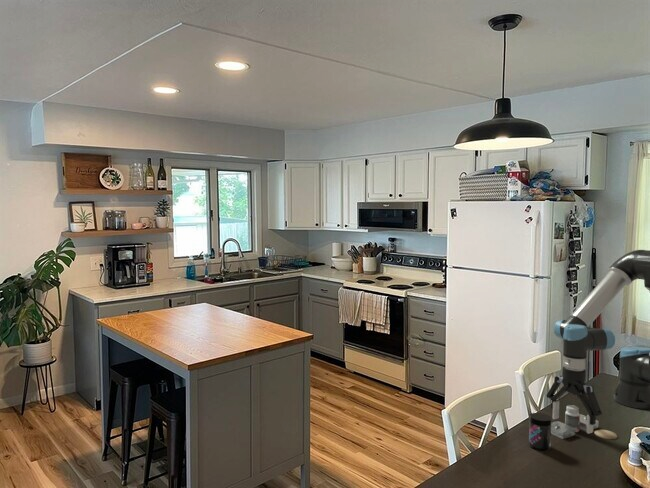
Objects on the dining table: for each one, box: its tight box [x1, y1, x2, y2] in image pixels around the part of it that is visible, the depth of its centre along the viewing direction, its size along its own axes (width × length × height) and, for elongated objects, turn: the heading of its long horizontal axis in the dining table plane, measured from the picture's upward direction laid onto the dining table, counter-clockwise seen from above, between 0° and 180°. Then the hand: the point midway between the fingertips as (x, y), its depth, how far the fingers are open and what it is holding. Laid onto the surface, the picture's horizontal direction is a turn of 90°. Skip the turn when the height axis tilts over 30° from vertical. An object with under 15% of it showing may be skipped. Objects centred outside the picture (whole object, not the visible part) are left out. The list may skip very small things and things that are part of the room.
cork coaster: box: [593, 429, 618, 440], centre depth 175 cm, size 7×7×1 cm
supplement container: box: [528, 412, 552, 452], centre depth 166 cm, size 7×7×10 cm
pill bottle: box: [564, 404, 580, 433], centre depth 180 cm, size 5×5×8 cm
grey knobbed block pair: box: [551, 413, 599, 440], centre depth 180 cm, size 20×7×3 cm, turn 118°
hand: (572, 425), depth 180 cm, fingers open, 13 cm apart
